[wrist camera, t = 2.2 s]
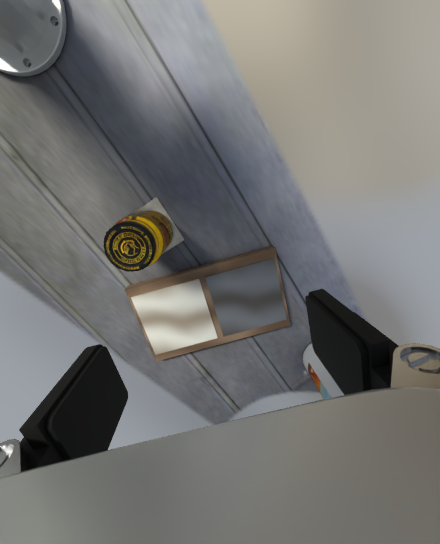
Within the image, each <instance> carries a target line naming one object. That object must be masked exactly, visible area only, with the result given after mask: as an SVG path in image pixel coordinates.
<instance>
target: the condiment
mask: <svg viewBox="0 0 440 544" xmlns="http://www.w3.org/2000/svg"><path fill="white" fill-rule="evenodd" d="M184 240H185V239H184V238H183V236H182V235H181V233H180V232H179V230H178V229H177V227H176V226H175V224H174V222H173V221H172V219H171V218H170V216H169V215H168V213H167V212H166V210H165V209H164V207H163V206H162V205H161V203H160V202H159V200H158V199H157V197H156V198H154V199H153V200H151V201H150V202H148V203H147V204H145V205H144V206H142V207H141V208H139V209H137V210H136V211H134V212H133V213H131V214H130V215H128V216H127V217H125V218H123V219H121V220H119V221H118V222H117V223H116V224H114V225H113V226H111V227H110V228H109V231H107V232H106V235H105V238H104V249H105V254H106V256H107V258H108V259H109V260H110V262H111V263H112V264H113V265H114V266H116V267H117V268H119V269H122V270H125V271H139V270H141V269H142V270H143V269H144V268H145V267H147V266H150V265H152V264H153V263H155V262H156V261H157V260H158V259H159V257H160V256H161V255H162V254H163V253H164V252H166V251H168V250H169V249H171V248H172V247H174V246H176V245H177V244H179V243H180V242H182V241H184Z"/></svg>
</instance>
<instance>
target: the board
mask: <svg viewBox="0 0 440 544" xmlns="http://www.w3.org/2000/svg"><path fill="white" fill-rule="evenodd" d="M125 291H126V294H127V296H128V298H129V300H130V303H131V305H132V307H133V310H134V312H135V314H136V316H137V319H138V321H139V323H140V326H141V328H142V330H143V333H144V335H145V337H146V339H147V342H148V344H149V346H150V349H151V351H152V353H153V355H154V358H155V360H156V361H160V360H164V359H167V358H171V357H175V356H178V355H182V354H186V353H190V352H193V351H197V350H201V349H205V348H208V347H212V346H216V345H219V344H223V343H227V342H231V341H234V340H238V339H242V338H246V337H249V336H253V335H257V334H260V333H264V332H268V331H272V330H275V329H279V328H283V327H287V326H290V320H289V315H288V310H287V305H286V300H285V295H284V290H283V284H282V279H281V274H280V269H279V264H278V259H277V254H276V249H275V247H273V246H270V247H266V248H263V249H259V250H256V251H252V252H248V253H245V254H241V255H238V256H234V257H230V258H227V259H223V260H220V261H216V262H212V263H209V264H205V265H202V266H198V267H194V268H191V269H187V270H184V271H180V272H177V273H173V274H169V275H166V276H162V277H159V278H155V279H151V280H148V281H144V282H141V283H137V284H133V285H130V286H127V288H126V289H125Z"/></svg>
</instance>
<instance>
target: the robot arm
mask: <svg viewBox="0 0 440 544" xmlns="http://www.w3.org/2000/svg"><path fill="white" fill-rule="evenodd" d="M65 36H66V13H65V6H64V3H63V0H0V71H1V72H4V73H6V74H10V75H14V76H32V75H36V74H39V73H41V72H43V71H45V70H47V69H48V68H49V67H50V66H51V65H52V64H53V63H54V62H55V61H56V59H57V58H58V56H59V55H60V53H61V50H62V48H63V45H64V42H65ZM306 305H307V312H308V319H309V326H310V333H311V340H312V346H313V350H314V352H315V354H316V355H317V357H318V358H319V360H320V361H321V363H322V364H323V365H324V367H325V368H326V370H327V371H328V373H329V374H330V375H331V377H332V378H333V380H334V381H335V383H336V384H337V385H338V387H339V388H340V390H341V391H342V393H343V394H344V395H342V396H337V397H332V398H328V399H323V400H319V401H315V402H310V403H306V404H302V405H297V406H294V407H289V408H285V409H280V410H276V411H272V412H267V413H263V414H259V415H254V416H250V417H246V418H241V419H237V420H233V421H229V422H224V423H220V424H216V425H212V426H207V427H203V428H199V429H195V430H191V431H187V432H182V433H178V434H174V435H170V436H166V437H161V438H157V439H153V440H149V441H145V442H140V443H136V444H132V445H128V446H124V447H120V448H116V449H111V450H108V447H109V445H110V442H111V440H112V437H113V435H114V432H115V430H116V427H117V425H118V422H119V420H120V417H121V415H122V412H123V409H124V407H125V405H126V402H127V399H128V392H127V389H126V387H125V385H124V383H123V381H122V379H121V377H120V375H119V372H118V370H117V368H116V366H115V364H114V362H113V360H112V358H111V355H110V353H109V351H108V349H107V348H106V347H105V346H104V347H103V346H102V345H100V344H99V345H95V346H91V347H87V348H86V349H85V350H84V351H83V352H82V354H81V355H80V356H79V357H78V358H77V360H76V361H75V362H74V363H73V364H72V366H71V367H70V368H69V369H68V371H67V372H66V373H65V374H64V375H63V377H62V378H61V379H60V381H59V382H58V383H57V384H56V385H55V386H54V388H53V389H52V390H51V391H50V393H49V394H48V395H47V396H46V398H45V399H44V400H43V401H42V402H41V404H40V405H39V406H38V407H37V408H36V410H35V411H34V412H33V414H32V415H31V416H30V417H29V418H28V420H27V421H26V422H25V423H24V424H23V426H22V427H21V428H20V432H21V433H22V434H23V436H24V438H23V439H22V441H21V442H19V440H16V439H11V440H7V441H5V442H2V443H0V544H440V349H439V348H436V347H433V346H429V345H425V344H416V343H412V344H405V345H401V346H398V345H397V344H395V343H394V342H393V341H392V340H390V339H389V338H388V337H386V336H385V335H384V334H382V333H381V332H380V331H379V330H377V329H376V328H375V327H373V326H372V325H371V324H369V323H368V322H367V321H365V320H364V319H363V318H361V317H360V316H359V315H358V314H356V313H354V312H352V311H351V310H350V309H348V308H347V307H346V306H344V305H343V304H342V303H340V302H339V301H338V300H337V299H335V298H334V297H333V296H331V295H330V294H329V293H328V292H326V291H325V290H324V289H320V290H316V291H312V292H309V296H306Z"/></svg>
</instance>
